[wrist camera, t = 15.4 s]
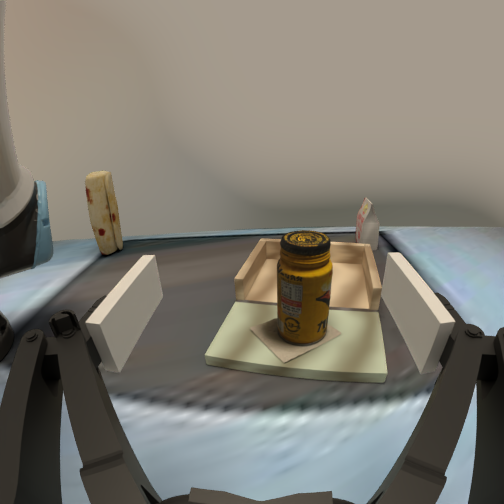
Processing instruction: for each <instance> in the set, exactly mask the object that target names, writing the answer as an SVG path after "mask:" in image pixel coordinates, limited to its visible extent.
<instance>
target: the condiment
mask: <svg viewBox="0 0 504 504" xmlns="http://www.w3.org/2000/svg"><path fill="white" fill-rule="evenodd" d="M280 245H281V249H280V259H279V260H278V263H277V318H274V319H272V320H270V321H267V322H265V323H263V324H259V325H256V326H253V327H251V328H250V329H251V330H252V331H253V332H254V333H255V334H256V335H257V337H258V338H260V340H261V341H262V342H263V343H264V344H265V345H266V346H267V347H268V349H270V350H271V351H272V352H273V353H274V354H275V355H276V356H277V357H278V358H280V359H281V360H282V361H283V362H284V363H285V362H287V361H289V360H290V359H293V358H295V357H297V356H298V355H301V354H303V353H305V352H307V351H309V350H311V349H313V348H316V347H318V346H320V345H322V344H324V343H326V342H327V341H330V340H331V339H333V338H335V337H337V336H338V335H340V334H341V332H339V331H338V330H336V329H335V328H333V327H332V326H330V325H329V324H328V316H329V308H330V307H329V305H330V294H331V283H332V275H333V265H332V262H331V260H330V256H331V255H330V246H331V242H330V239H329V237H328V236H326V235H325V234H323V233H320V232H316V231H304V230H302V231H294V232H289V233H287V234H285V235H283V236H282V239H281V241H280Z"/></svg>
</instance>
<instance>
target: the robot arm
mask: <svg viewBox="0 0 504 504" xmlns="http://www.w3.org/2000/svg"><path fill="white" fill-rule="evenodd" d="M5 7H6V0H0V278H3V277H6V276H10V275H13V274H16V273H19V272H22V271H26V270H29V269H34V268H35V267H36V266H38V265H41V264H43V263H46V262H48V261H49V260H50V259H51V258H52V256H53V243H52V236H51V229H50V222H49V212H48V202H47V191H46V183H45V182H44V181H38V180H37V181H34V179H33V176H32V174H31V172H30V171H29V170H28V169H27V168H26V167H24V166H22V165H19V164H18V160H17V155H16V151H15V146H14V141H13V135H12V130H11V124H10V117H9V110H8V102H7V94H6V83H5V68H4V21H5ZM381 297H382V298H383V300H384V302H385V304H386V306H387V308H388V309H389V311H390V313H391V315H392V317H393V319H394V321H395V323H396V325H397V327H398V328H399V330H400V332H401V334H402V336H403V338H404V340H405V342H406V344H407V346H408V348H409V350H410V353H411V355H412V357H413V359H414V361H415V363H416V365H417V367H418V369H419V372H420V374H423V373H429V372H434V371H435V370H436V368H437V366H438V363H439V361H440V363H441V365H442V367H443V368H442V370H441V372H440V374H439V376H438V378H437V380H436V382H435V384H434V385H435V387H434V389H433V391H432V394H431V396H430V398H429V400H428V403H427V405H426V407H425V409H424V411H423V413H422V415H421V417H420V419H419V421H418V423H417V425H416V427H415V429H414V431H413V433H412V435H411V437H410V438H409V440H408V442H407V444H406V446H405V447H404V449H403V451H402V453H401V454H400V456H399V458H398V459H397V461H396V463H395V464H394V466H393V467H392V469H391V471H390V472H389V474H388V475H387V477H386V478H385V480H384V481H383V483H382V484H381V486H380V487H379V489H378V490H377V491H376V493H375V494H374V495H373V496H372V498H371V499H370V500H369V501H368V503H367V504H435V503H436V502H437V500H438V498H439V496H440V494H441V492H442V490H443V488H444V485H445V483H446V479H447V477H446V476H444V475H445V471H446V469H447V467H448V464H449V462H450V460H451V457H452V455H453V452H454V450H455V447H456V445H457V442H458V440H459V437H460V434H461V431H462V428H463V425H464V422H465V419H466V416H467V413H468V410H469V406H470V403H471V399H472V396H473V392H474V388H475V384H476V386H477V431H476V448H475V459H474V468H473V476H472V483H471V489H470V495H469V500H468V504H504V327H503V328H500V329H499V330H498V332H497V335H496V337H495V336H485V335H484V332H483V331H482V330H481V329H480V328H479V327H477V326H475V325H472V324H466V323H465V322H464V321H463V319H462V318H461V317H460V315H459V314H458V313H457V311H456V310H454V308H453V306H452V305H450V303H449V301H448V300H447V299H446V298H445V297H444V296H442V295H441V294H439V293H433V292H432V290H431V289H430V288H429V287H428V285H427V284H426V283H425V282H424V280H423V279H422V278H421V277H420V276H419V274H418V273H417V272H416V271H415V270H414V268H413V267H412V266H411V265H410V264H409V263H408V261H407V260H406V259H405V258H404V257H403V256H402V255H401V253H388V255H387V262H386V268H385V274H384V280H383V286H382V291H381ZM162 298H163V293H162V288H161V284H160V279H159V274H158V268H157V263H156V258H155V255H143V256H142V257H141V258H140V259H139V261H138V262H137V263H136V264H135V265H134V266H133V267H132V268H131V269H130V270H129V272H128V273H127V274H126V275H125V276H124V277H123V278H122V279H121V281H120V282H119V283H118V284H117V285H116V286H115V287H114V289H113V290H112V291H111V292H110V293H109V294H108V296H103V297H102V298H100V299H99V300H97V301H96V302H95V303H94V305H93V306H92V308H90V309H89V310H88V312H87V313H86V314H85V315H84V316H83V317H82V319H81V320H80V321H79V322H78V320H77V317H76V315H75V313H74V311H72V310H62V311H59V312H57V313H55V314H54V315H53V316H52V317H51V318H50V320H49V324H50V326H51V329H52V331H53V333H54V335H55V337H48V338H46V337H45V335H44V333H43V331H42V330H40V329H33V330H30V331H28V332H26V333H25V334H24V335H23V336H22V338H21V340H20V343H19V346H18V349H17V352H16V355H15V357H14V361H13V364H12V367H11V370H10V373H9V376H8V380H7V383H6V387H5V391H4V394H3V398H2V402H1V406H0V504H62V496H61V481H60V426H61V409H62V397H63V391H64V396H65V401H66V405H67V410H68V414H69V418H70V422H71V426H72V430H73V434H74V437H75V441H76V444H77V447H78V451H79V454H80V457H81V460H82V463H83V468H81V469H80V475H81V479H82V482H83V484H84V487H85V490H86V492H87V495H88V497H89V500H90V502H91V504H354V503H352V502H349V501H346V500H341V499H337V498H332V491H327V492H315V493H298V494H293V495H289V496H285V497H281V498H276V499H271V500H266V501H256V500H252V499H248V498H245V497H241V496H238V495H234V494H231V493H228V492H224V491H214V490H206V489H198V488H192V487H191V491H190V494H187V495H180V496H175V497H171V498H168V499H166V500H163V501H162V500H161V498H160V497H159V495H158V494H157V493H156V491H155V490H154V488H153V487H152V485H151V484H150V482H149V480H148V478H147V476H146V475H145V473H144V471H143V469H142V467H141V465H140V464H139V462H138V460H137V458H136V456H135V454H134V452H133V450H132V448H131V446H130V444H129V441H128V439H127V437H126V435H125V433H124V431H123V428H122V426H121V424H120V422H119V419H118V417H117V415H116V412H115V410H114V407H113V405H112V402H111V400H110V397H109V395H108V392H107V389H106V387H105V384H104V381H103V378H102V375H101V373H100V370H99V368H98V366H99V364H100V363H101V361H102V364H103V366H104V368H105V370H106V371H111V372H117V373H120V371H121V370H122V368H123V366H124V364H125V362H126V360H127V359H128V357H129V355H130V353H131V351H132V350H133V348H134V346H135V344H136V342H137V341H138V339H139V337H140V335H141V334H142V332H143V330H144V328H145V327H146V325H147V323H148V321H149V320H150V318H151V316H152V315H153V313H154V311H155V309H156V308H157V306H158V304H159V303H160V301H161V299H162ZM13 340H14V332H13V330H12V328H11V326H10V324H9V321H8V320H7V318H6V317H5V316H4V315H3V313H2V312H1V311H0V361H1V360H2V359H3V357H4V356H5V355H6V354H7V352H8V351H9V349H10V348H11V346H12V343H13Z"/></svg>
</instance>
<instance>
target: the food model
mask: <svg viewBox="0 0 504 504" xmlns="http://www.w3.org/2000/svg"><path fill="white" fill-rule="evenodd" d="M85 185H86V195H87V203H88V210H89V217H90V221H91V225H92V229H93V231H94V235H95V238H96V241H97V244H98V247H99V249H100V252H101V254H102V255H108V254H111V253H113V252H115V251H116V250H117V247H118V248H119V250H121V249H122V247H123V241H122V235H121V228H120V221H119V213H118V206H117V201H116V197H115V193H114V187H113V182H112V176H111V172H107V171H99V172H91V173H90V174H89V175H87V177H86V181H85Z"/></svg>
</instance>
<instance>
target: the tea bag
mask: <svg viewBox="0 0 504 504" xmlns="http://www.w3.org/2000/svg"><path fill="white" fill-rule="evenodd" d="M378 235H379V221H378V219H377V216H376V214H375V211H374V208H373V204H372V203H371V202H370V201H369V200H368V199H367V198H365V199H364V202H363V204H362V206H361V209H360V210H359V212H358V214H357V227H356V241H357V243H362V244H370V246H371V249H372V250H377V245H378Z"/></svg>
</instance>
